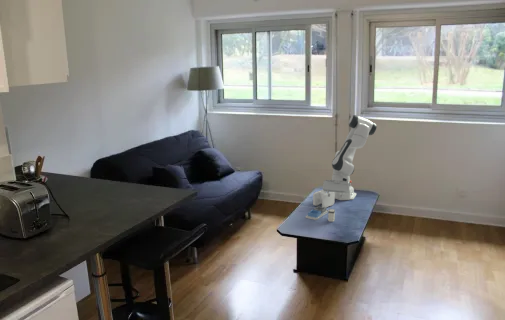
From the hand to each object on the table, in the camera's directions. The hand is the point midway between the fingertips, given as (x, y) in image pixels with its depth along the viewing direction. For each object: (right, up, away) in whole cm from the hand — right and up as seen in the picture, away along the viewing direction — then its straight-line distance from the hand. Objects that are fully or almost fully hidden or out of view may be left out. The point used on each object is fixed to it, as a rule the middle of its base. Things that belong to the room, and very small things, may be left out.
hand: (334, 196), depth 339 cm
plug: (-4, -17, -7) cm, 19 cm away
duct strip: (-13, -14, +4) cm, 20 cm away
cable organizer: (-5, -9, +23) cm, 25 cm away
